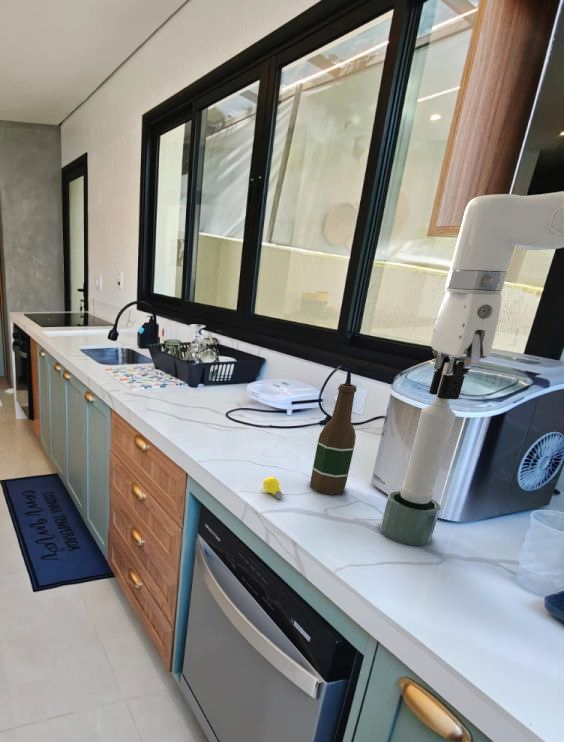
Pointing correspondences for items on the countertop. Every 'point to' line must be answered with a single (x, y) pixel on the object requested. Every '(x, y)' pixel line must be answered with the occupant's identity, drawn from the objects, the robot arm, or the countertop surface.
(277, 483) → the light bulb
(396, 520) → the holder
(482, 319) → the robot arm
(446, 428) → the bottle
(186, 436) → the countertop surface
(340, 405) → the beer bottle
